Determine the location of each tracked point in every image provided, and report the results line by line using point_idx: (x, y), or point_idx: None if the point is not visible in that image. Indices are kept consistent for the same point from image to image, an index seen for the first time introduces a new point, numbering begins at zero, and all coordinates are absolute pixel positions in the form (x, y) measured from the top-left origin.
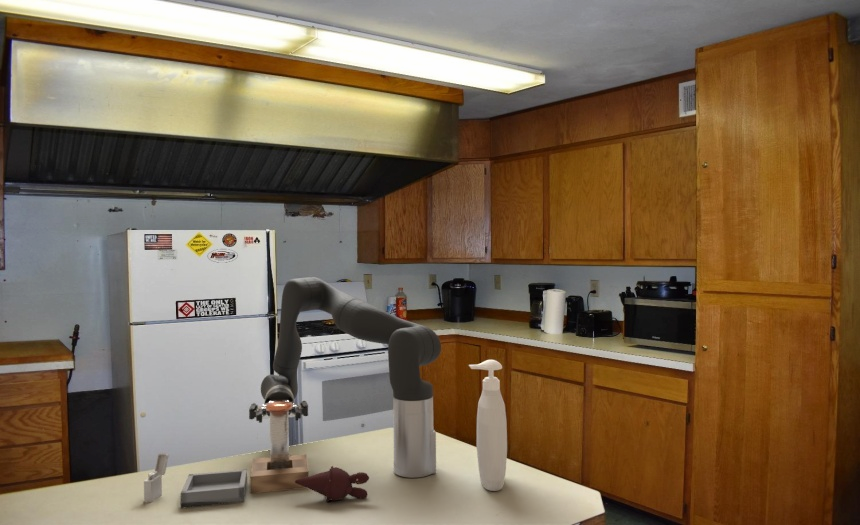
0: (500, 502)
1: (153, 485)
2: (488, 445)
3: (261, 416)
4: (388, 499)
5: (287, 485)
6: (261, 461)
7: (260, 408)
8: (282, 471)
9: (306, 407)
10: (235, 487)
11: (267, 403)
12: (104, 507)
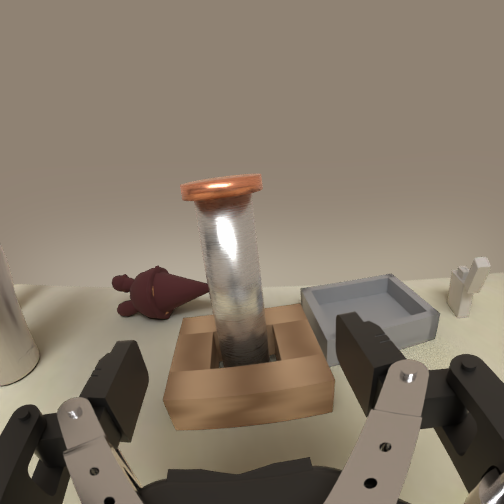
0: (28, 299)
1: (451, 280)
2: (4, 255)
3: (337, 323)
4: (100, 311)
5: None
6: (300, 363)
7: (408, 387)
8: None
9: (32, 411)
10: (315, 287)
11: (396, 480)
12: (487, 288)
